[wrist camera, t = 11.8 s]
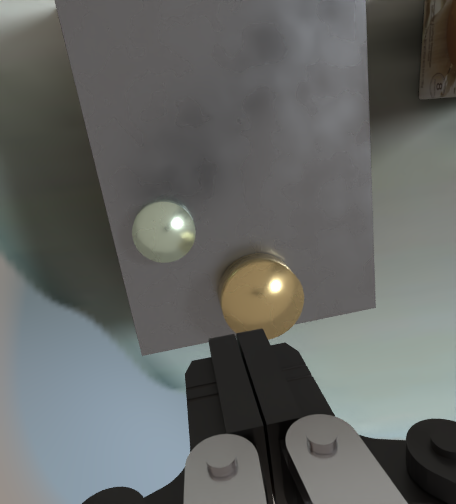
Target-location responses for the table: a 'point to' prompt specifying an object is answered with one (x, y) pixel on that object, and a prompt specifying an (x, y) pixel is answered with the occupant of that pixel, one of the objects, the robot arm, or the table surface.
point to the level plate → (229, 159)
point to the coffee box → (438, 50)
